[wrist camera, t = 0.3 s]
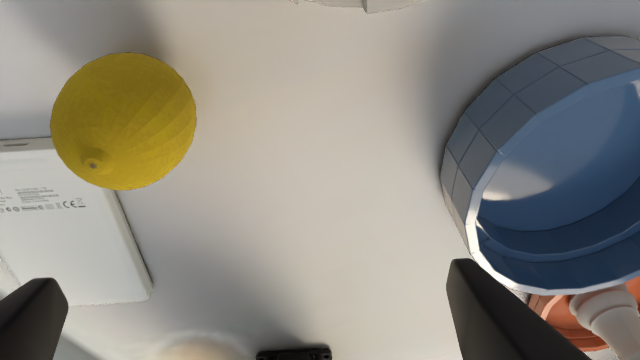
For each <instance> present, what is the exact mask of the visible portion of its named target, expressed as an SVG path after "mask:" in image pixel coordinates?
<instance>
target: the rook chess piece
mask: <svg viewBox="0 0 640 360" xmlns="http://www.w3.org/2000/svg"><path fill="white" fill-rule="evenodd" d="M637 308H638V305H637V302H636V299H635V297H634V295H632V294H631V293H629V291H628V288H627V286H626V285H625V284H623V283H622V284H619V285H616V286H612V287H608V288H603V289H599V290H595V291H591V292H587V293H583V294H573V295H572V296H571V299H570V303H569V310H570V312H571V314H572V315H574V316H576V319H577V321H578V323H579V324H580V325H581V326H583V327H584V328H586V329H588V330H591V331H592V333H594V334H596V335H597V336H599V337H601V338H602V339H603V340H604V341H605V342H606V343H607V344H608V346H609V347H610V348H611V349H612V350H613V351H614V352H615V353H616V354H617V356H618V357H619V359H620V360H640V319H639V317H640V314H639V311H638V310H637Z"/></svg>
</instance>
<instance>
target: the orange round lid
mask: <svg viewBox="0 0 640 360" xmlns="http://www.w3.org/2000/svg"><path fill="white" fill-rule="evenodd" d="M623 284H625V285H626V286H627V288H628V291H629V293H631V294H632V295H634V297H635V299H636V302H637V305H638V308H637V310H638V311H639V314H640V276H638V277H636V278H634V279H631V280H629V281H627V282H624V283H623ZM571 296H572V295H550V296H542V295H537V294H531V297H530V302H529V305H528V307H530V308H531V309H532V310H533V311H534V312H536V313H537V314H538V315H539V316H540V317H542V318H543V319H544V320H545V321H546V322H547V323H549V324H550V325H551V326H552V327H553V328H555V329H556V330H557V331H558V332H559V333H561V334H562V335H563V336H564V337H565V338H567V339H568V340H569V341H570V342H571V343H573V344H574V345H575V346H576V347H577V348H579V349H580V350H581V351H582V352H586V351H598V350H602V349H606V348H610V347H609V346H608V344H607V343H606V342H605V341H604V340H603V339H602V338H601V337H599V336H597V335H596V334H594V333H592V331H591V330H588V329H586V328H584V327H583V326H581V325H580V324H579V323H578V321H577V319H576V316H574V315H572V314H571V312H570V310H569V303H570V299H571ZM639 319H640V317H639Z"/></svg>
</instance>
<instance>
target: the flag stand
mask: <svg viewBox="0 0 640 360" xmlns="http://www.w3.org/2000/svg"><path fill="white" fill-rule="evenodd" d="M290 1H292V2H294V3H296V4H298V1H299V0H290ZM307 1H311V2H315V3H318V4H322V5H326V6H331V7H357V8H363V9H364V10H365V12H366V13H367V14H371V13H377V12H383V11H389V10H395V9H401V8H404V7H407V6H409V5H412V4H414V3H417V2H420V1H422V0H307Z"/></svg>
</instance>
